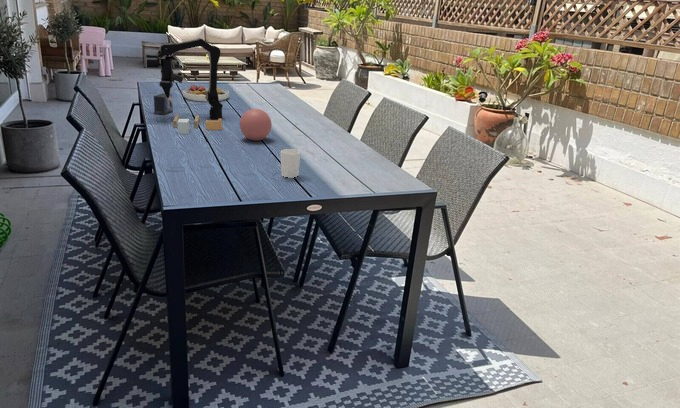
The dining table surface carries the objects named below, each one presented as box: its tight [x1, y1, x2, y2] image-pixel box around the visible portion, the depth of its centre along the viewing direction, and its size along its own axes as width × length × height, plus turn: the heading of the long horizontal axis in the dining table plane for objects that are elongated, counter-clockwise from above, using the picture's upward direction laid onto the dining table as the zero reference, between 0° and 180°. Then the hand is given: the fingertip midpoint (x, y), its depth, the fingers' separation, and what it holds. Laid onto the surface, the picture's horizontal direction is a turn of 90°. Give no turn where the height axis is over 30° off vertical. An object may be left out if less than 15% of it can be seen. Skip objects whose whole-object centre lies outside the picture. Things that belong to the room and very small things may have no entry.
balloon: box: [239, 108, 272, 142], centre depth 265 cm, size 15×20×15 cm
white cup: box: [280, 148, 302, 179], centre depth 214 cm, size 8×8×10 cm
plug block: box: [177, 118, 191, 135], centre depth 272 cm, size 5×8×6 cm, turn 10°
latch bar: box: [205, 118, 223, 131], centre depth 280 cm, size 8×2×6 cm, turn 100°
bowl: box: [182, 84, 230, 103], centre depth 361 cm, size 30×30×8 cm
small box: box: [153, 92, 174, 116], centre depth 310 cm, size 11×6×10 cm, turn 168°
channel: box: [172, 114, 200, 129], centre depth 288 cm, size 12×16×4 cm
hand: (168, 97), depth 292 cm, fingers closed
